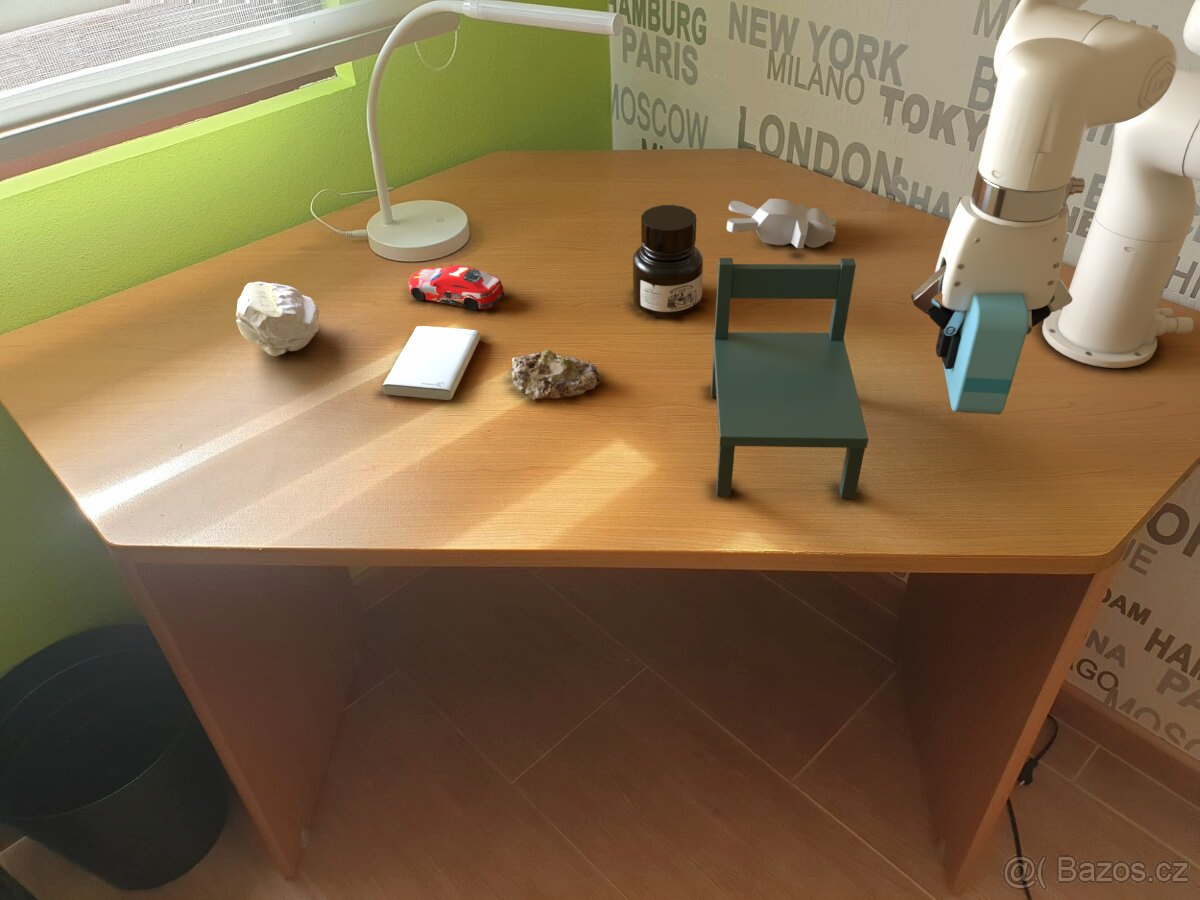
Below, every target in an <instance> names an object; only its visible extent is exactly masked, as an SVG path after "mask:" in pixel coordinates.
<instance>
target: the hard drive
mask: <svg viewBox="0 0 1200 900" xmlns="http://www.w3.org/2000/svg"><path fill="white" fill-rule="evenodd" d="M480 335H481V334H480V331H479V330H477V329H467V328H455V327H454V328H453V327H441V326H428V325H427V326H425V325H418V326H416V327H415V329H414V330H413V332H412V334H411V336H410V337H409V339H408V341H407V342H406V344H405V346H404V348H403V349H402V351H401V353H400V354H399V356H398V358H397V360H396V361H395V363H394V365H393V367H392V368H391V370H390V372H389V373H388V375H387V377H386V378H385V380H384V382H383V384H382V389H383V393H384V394H386V395H390V396H401V397H411V398H420V399H421V398H422V399H433V400H443V401H444V400H445V401H450V400H452V399H453V397H454V394H455V392H456V390H457V388H458V387H459V384H460V382H461V380H462V378H463V376H464V374H465V372H466V369H467V368H468V364H469V363H470V361H471V359H472V357H473V355H474V352H475V350H476V348H477V346H478V344H479V342H480V340H481V336H480Z"/></svg>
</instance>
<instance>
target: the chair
mask: <svg viewBox="0 0 1200 900" xmlns="http://www.w3.org/2000/svg"><path fill="white" fill-rule="evenodd" d="M856 267H857V264H856V261H855V258H853V257H852V258H850V257H849V258H847V257H845V258H844V257H843V258H840V261H839V264H826V263H825V264H817V263H815V264H814V263H813V264H809V263H807V264H805V263H804V264H803V263H801V264H799V263H798V264H797V263H796V264H795V263H793V264H790V263H789V264H788V263H779V264H778V263H734V259H733V257H719V258H718V267H717V284H716V286H717V287H716V301H715V319H714V331H713V334H712V344H713V345H712V347H713V348H712V349H713V351H712V365H711V367H712V368H711V381H710V382H711V384H710V385H711V386H710V397H711V398H716V412H717V426H718V427H717V428H718V458H717V469H716V470H717V471H716V484H715V489H716V497H723V498H724V497H725V498H727V497H731V496H732V485H733V473H734V462H735V461H734V460H735V450H736V447H772V448H773V447H774V448H775V447H777V448H778V447H779V448H831V449H832V448H833V449H835V448H836V449H837V448H838V449H839V448H840V449H841V448H842V449H846V452H845V456H844V461H843V468H842V472H841V478H840V483H839V488H838V490H839V495H840V499H842V500H843V499H844V500H845V499H847V500H849V499H850V500H855V499H856V496H857V489H858V485H859V480H860V475H861V469H862V465H863V461H864V455H865V451H866V449H867V447H868V442H869V435H868V433H867V428H866V423H865V419H864V415H863V411H862V408H861V403H860V400H859V395H858V390H857V388H856V384H855V383H856V382H855V378H854V374H853V371H852V366H851V363H850V358H849V354H848V351H847V346H846V342H845V339H844V338H845V333H846V327H847V322H848V315H849V309H850V303H851V297H852V291H853V285H854V280H855V279H854V278H855V274H856V273H855V272H856ZM735 299H737V300H739V299H741V300H742V299H743V300H744V299H746V300H747V299H748V300H749V299H750V300H752V299H753V300H755V299H756V300H758V299H759V300H761V299H762V300H833V303H832V310H831V316H830V317H831V318H830V323H829V331H828V332H773V331H772V332H769V331H768V332H767V331H765V332H764V331H762V332H760V331H759V332H758V331H757V332H756V331H754V332H753V331H752V332H751V331H729V329H730V316H731V302H732V300H735Z"/></svg>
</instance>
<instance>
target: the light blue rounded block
mask: <svg viewBox="0 0 1200 900" xmlns="http://www.w3.org/2000/svg"><path fill="white" fill-rule="evenodd" d="M1028 325H1029V311H1028V307H1027V304H1026V301H1025V298H1024V295H1023V294H975V295H974V296H973V298H972V302H971V305H970V308H969V310H968V311H967V313H966V317H965V318H964V320H963V322H962V323H961V325H960V327H959V329H958V331H959V334H960V343H959V347H958V351H957V355H956V359H955V363H954V367H953V368H952V369H945V366H944V364H943V363H942V364H943V370H944V376H945V381H946V386H947V387H946V388H947V392H948V397H949V398H948V399H949V402H950V407H951V410H952V412H954V413H965V414H968V413H969V414H982V415H983V414H986V415H1001V414H1002V413H1003V412H1004V410H1005V407H1006V404H1007V401H1008V397H1009V393H1010V391H1011V387H1012V384H1013V380H1014V377H1015V374H1016V371H1017V367H1018V364H1019V360H1020V357H1021V353H1022V351H1023V347H1024V344H1025V341H1026V337H1027V335H1026V334H1027V330H1028Z"/></svg>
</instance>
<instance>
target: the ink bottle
mask: <svg viewBox="0 0 1200 900" xmlns="http://www.w3.org/2000/svg"><path fill="white" fill-rule="evenodd" d="M640 218H641V219H640V223H641V226H640V227H641V228H640V229H641V230H640V236H641V237H640V238H641V242H640V243H641V245H640V246H639V247H638V248H637V249H636V250H635V251H634V254H633V257H632V300H633V303H634V305H635V306H636V307H637V309H638V310H640V311H641V312H642V313H644V314H646V315H648V316H652V317H655V318H664V319H665V318H676V317H682V316H685V315H688V314H690V313H692V312H694V311H695V310H697V309H698V308H699V306H700V305H701V302H702V296H703V281H704V280H703V278H704V269H703V268H704V259H703V254H702V253H701V251H700V250H699V248H697V247H696V240H697V214H696V213H695V212H694V211H693V210H692V209H689V208H687V207H684V206H683V205H675V204H661V205H656V206H652V207H650V208H649V209H646V210H644V212H642V214H641V216H640Z"/></svg>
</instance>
